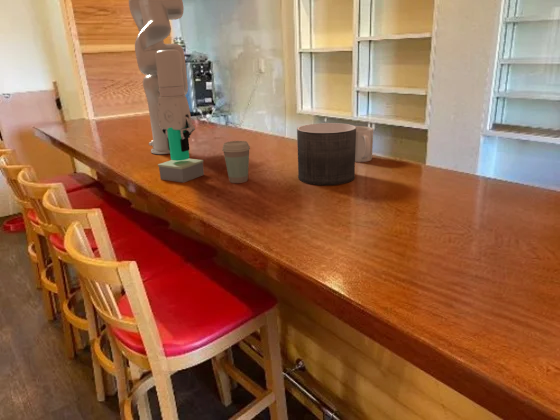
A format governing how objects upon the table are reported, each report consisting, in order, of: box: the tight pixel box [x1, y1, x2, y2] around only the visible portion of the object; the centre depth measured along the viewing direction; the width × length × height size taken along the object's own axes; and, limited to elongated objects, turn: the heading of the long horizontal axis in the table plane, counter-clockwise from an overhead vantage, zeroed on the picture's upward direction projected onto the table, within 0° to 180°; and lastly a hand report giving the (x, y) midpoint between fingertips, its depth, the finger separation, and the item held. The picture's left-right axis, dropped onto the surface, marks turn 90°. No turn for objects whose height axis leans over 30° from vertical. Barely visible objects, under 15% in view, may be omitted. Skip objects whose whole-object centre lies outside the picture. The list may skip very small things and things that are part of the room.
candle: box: [167, 127, 190, 161], centre depth 136 cm, size 6×6×12 cm
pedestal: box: [157, 158, 205, 184], centre depth 139 cm, size 10×10×5 cm
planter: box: [296, 122, 357, 186], centre depth 130 cm, size 18×18×16 cm
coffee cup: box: [222, 140, 251, 184], centre depth 131 cm, size 8×8×12 cm
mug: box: [355, 126, 374, 163], centre depth 152 cm, size 10×12×11 cm
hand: (179, 149), depth 137 cm, fingers closed on candle, 4 cm apart
